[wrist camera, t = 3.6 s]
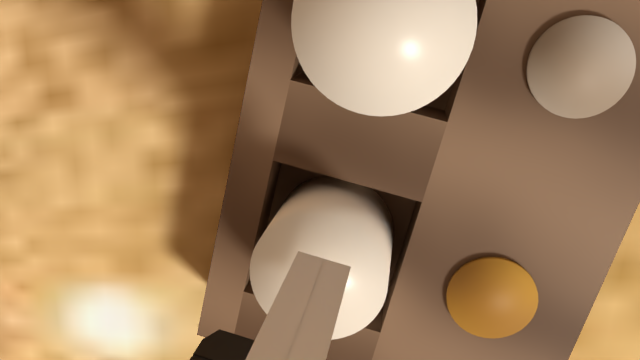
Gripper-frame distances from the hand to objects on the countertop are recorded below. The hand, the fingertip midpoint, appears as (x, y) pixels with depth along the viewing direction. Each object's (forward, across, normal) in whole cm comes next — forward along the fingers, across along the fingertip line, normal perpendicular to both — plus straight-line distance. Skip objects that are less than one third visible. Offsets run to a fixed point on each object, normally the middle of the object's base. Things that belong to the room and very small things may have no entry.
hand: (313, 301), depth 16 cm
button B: (+4, 0, +8) cm, 9 cm away
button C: (+6, 0, 0) cm, 6 cm away
